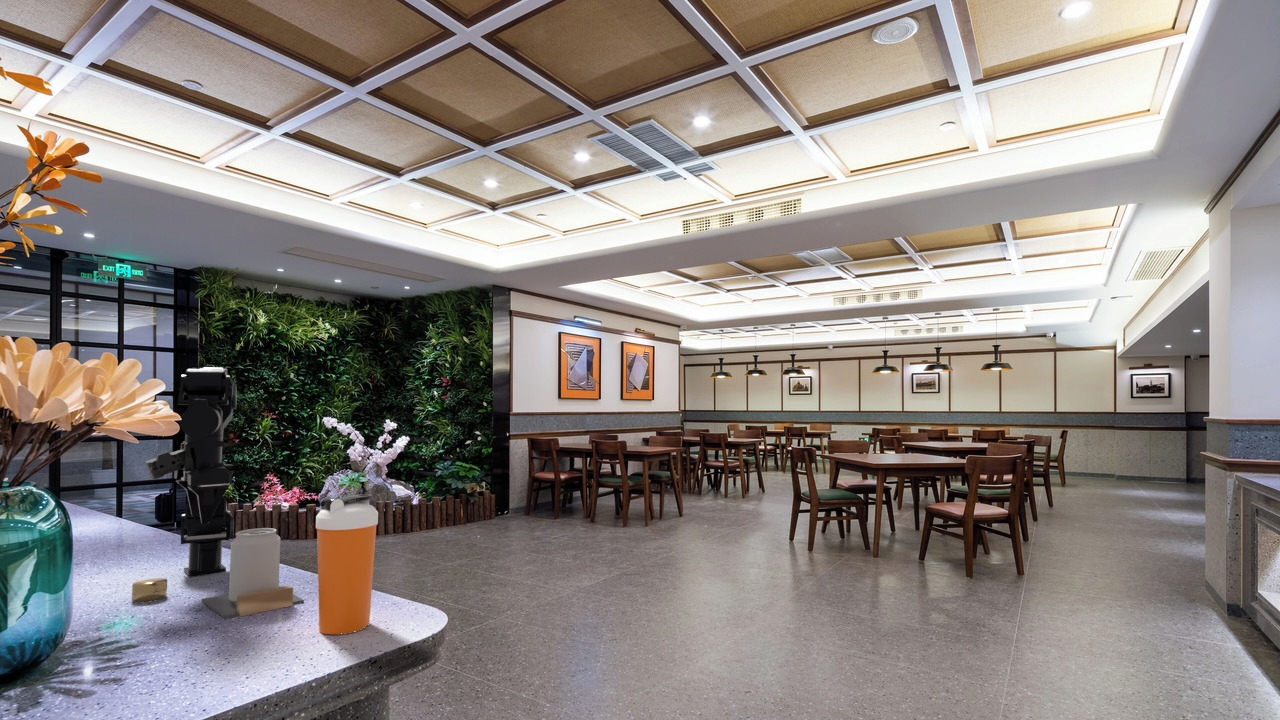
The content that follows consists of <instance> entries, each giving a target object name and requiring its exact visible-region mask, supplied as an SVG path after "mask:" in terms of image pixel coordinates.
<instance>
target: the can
mask: <svg viewBox="0 0 1280 720" xmlns="http://www.w3.org/2000/svg"><path fill="white" fill-rule="evenodd" d="M277 531H278V530H277V529H276V528H271V527H262V528H259V527H258V528H248V529H243V530H240V531H239V530H238V531H237V532H236V533H235V536H236V537H235V538H233V540H232V541H231V542H230V554H229V555H230V557H229V558H230V559H229V560H230V561H229V562H230V563H229V580H228V581H229V587H228V594H229V599H230V600H231V601H232V602H234V603H235V604H236V602H237V595H241V594H246V593H251V592H256V591H262V590H267V589H272V588H278V587H280V566H281V565H280V562H281V561H280V560H281V559H280V558H281V537H280V536H279V535H278V534H277V533H276V532H277Z"/></svg>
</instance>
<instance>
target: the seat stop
mask: <svg viewBox="0 0 1280 720" xmlns="http://www.w3.org/2000/svg"><path fill="white" fill-rule="evenodd" d="M293 594H294V587H293V586H291V585H284V586H279V587H278V588H272V589H267V590H262V591H256V592H251V593H246V594H241V595H237V602H236V612H238V613H239V616H238V617H244V616H249V615H252V614H258V613H263V612H267V611H268V612H269V611H272V610H277V609H282V608H283V609H284V608H287V607H292V606H293V605H294V604H293Z"/></svg>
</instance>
